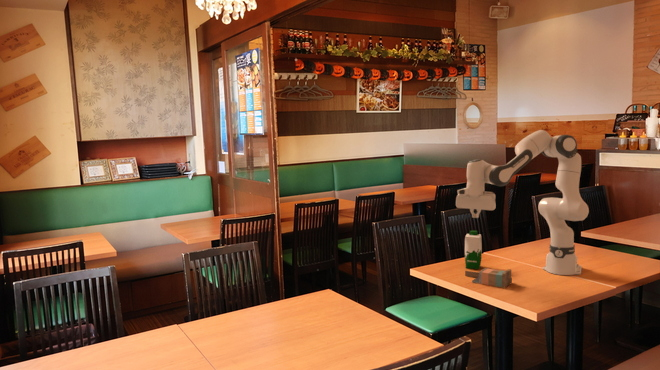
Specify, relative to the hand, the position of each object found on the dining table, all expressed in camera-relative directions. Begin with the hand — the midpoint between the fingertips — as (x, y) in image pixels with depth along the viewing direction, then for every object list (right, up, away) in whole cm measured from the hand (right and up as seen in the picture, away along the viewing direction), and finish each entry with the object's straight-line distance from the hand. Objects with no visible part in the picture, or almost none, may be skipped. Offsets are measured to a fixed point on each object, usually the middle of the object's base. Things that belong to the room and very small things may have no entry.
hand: (475, 217), depth 261 cm
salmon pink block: (+4, -32, -7) cm, 33 cm away
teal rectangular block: (+10, -32, -11) cm, 36 cm away
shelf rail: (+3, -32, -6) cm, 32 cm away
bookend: (+1, -32, -4) cm, 32 cm away
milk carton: (+5, -29, +21) cm, 36 cm away
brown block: (+7, -32, -9) cm, 34 cm away
